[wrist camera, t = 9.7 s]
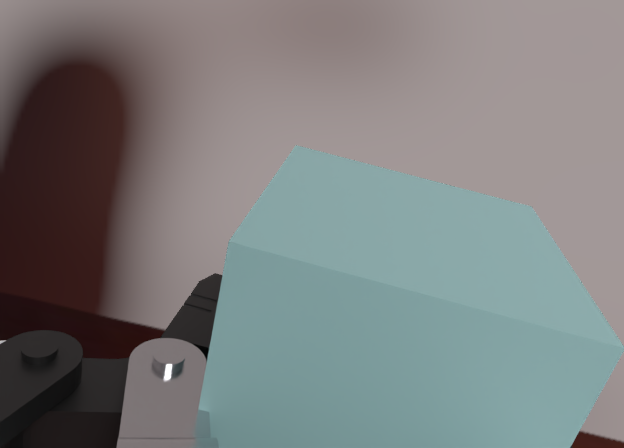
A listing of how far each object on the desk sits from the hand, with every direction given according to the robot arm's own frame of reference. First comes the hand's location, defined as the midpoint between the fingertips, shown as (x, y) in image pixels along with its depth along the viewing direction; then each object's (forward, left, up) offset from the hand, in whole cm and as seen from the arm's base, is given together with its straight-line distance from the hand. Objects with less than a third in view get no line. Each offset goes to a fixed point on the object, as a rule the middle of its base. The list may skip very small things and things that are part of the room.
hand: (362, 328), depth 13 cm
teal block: (0, -3, -6) cm, 7 cm away
